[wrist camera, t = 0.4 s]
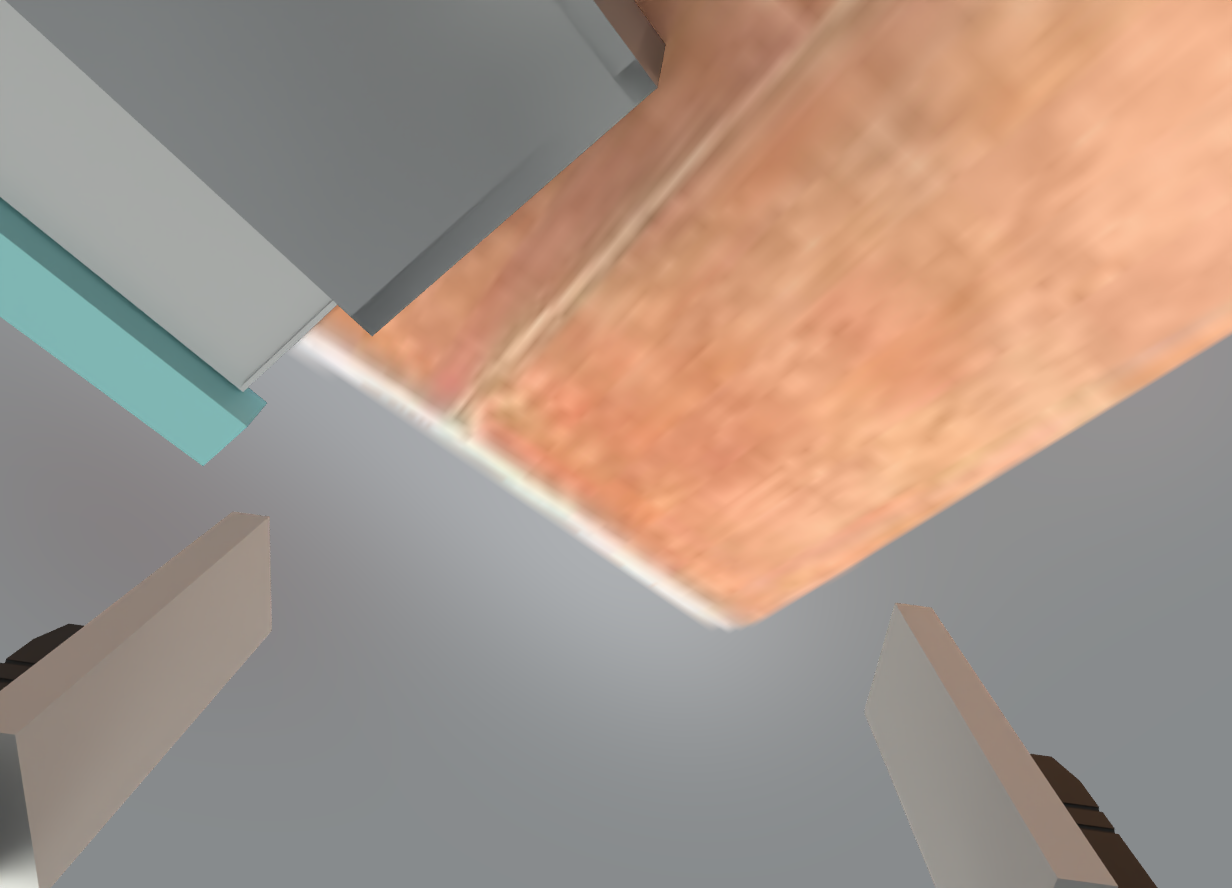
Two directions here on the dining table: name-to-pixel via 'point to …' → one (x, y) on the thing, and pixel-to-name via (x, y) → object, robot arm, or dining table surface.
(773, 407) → the dining table surface
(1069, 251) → the dining table surface
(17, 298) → the tray
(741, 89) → the dining table surface
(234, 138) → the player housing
